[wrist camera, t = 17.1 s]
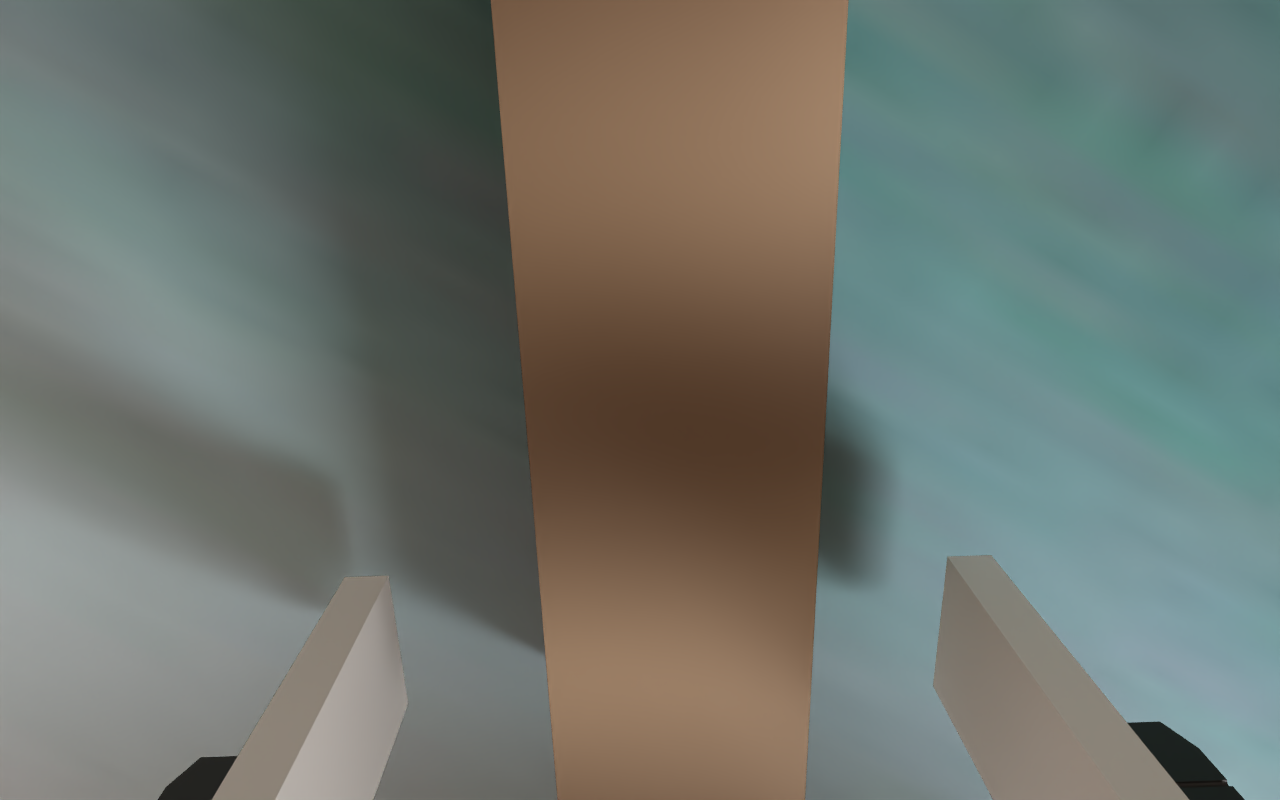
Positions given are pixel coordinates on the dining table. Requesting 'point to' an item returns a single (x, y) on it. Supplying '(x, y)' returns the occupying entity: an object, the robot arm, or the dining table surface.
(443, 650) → the dining table surface
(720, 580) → the tan long block
